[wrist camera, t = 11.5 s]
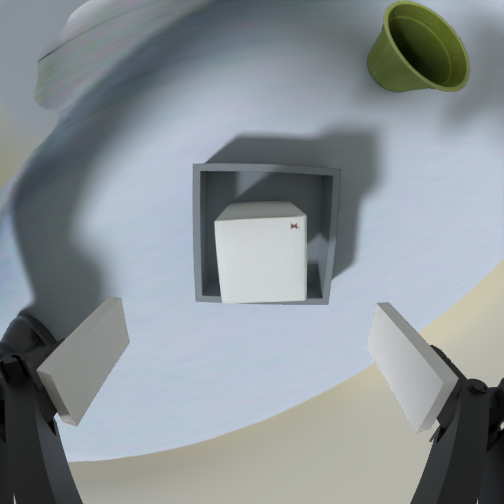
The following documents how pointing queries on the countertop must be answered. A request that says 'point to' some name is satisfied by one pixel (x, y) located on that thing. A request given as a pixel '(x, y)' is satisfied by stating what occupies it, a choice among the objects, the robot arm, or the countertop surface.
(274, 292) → the supplement box
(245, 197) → the grey bin
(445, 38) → the plant pot
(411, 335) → the robot arm
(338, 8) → the countertop surface
